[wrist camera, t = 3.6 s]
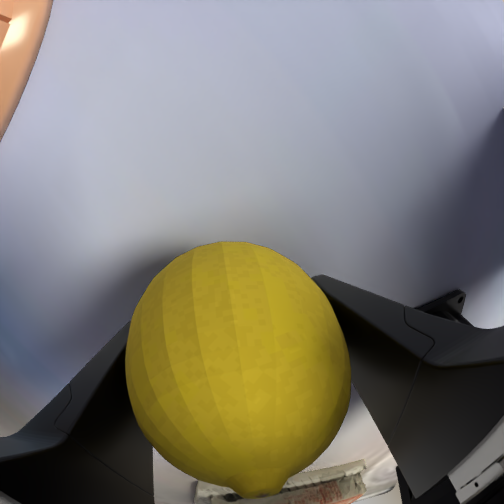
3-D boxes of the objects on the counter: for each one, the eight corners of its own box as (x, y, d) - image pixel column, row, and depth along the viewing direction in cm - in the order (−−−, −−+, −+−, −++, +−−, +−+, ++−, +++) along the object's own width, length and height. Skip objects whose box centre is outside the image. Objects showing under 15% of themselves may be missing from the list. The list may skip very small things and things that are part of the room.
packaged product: (381, 487, 19) (341, 512, 22) (366, 454, 23) (331, 485, 27) (199, 519, 15) (196, 532, 18) (195, 475, 19) (193, 499, 23)
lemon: (306, 310, 12) (392, 476, 5) (186, 349, 12) (190, 528, 5) (273, 186, 10) (442, 343, 2) (126, 240, 9) (26, 445, 2)
